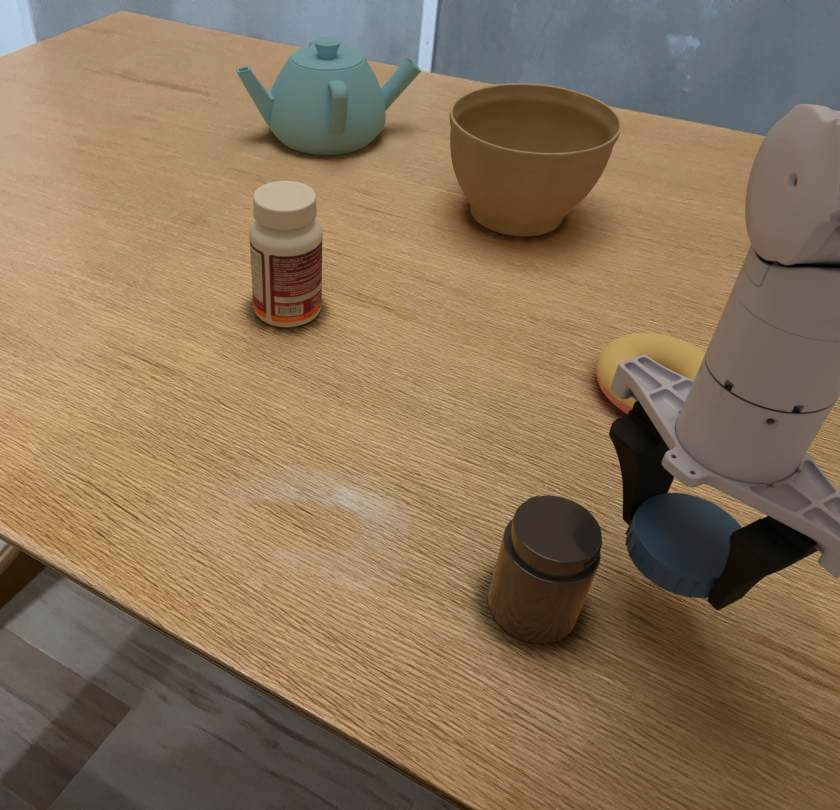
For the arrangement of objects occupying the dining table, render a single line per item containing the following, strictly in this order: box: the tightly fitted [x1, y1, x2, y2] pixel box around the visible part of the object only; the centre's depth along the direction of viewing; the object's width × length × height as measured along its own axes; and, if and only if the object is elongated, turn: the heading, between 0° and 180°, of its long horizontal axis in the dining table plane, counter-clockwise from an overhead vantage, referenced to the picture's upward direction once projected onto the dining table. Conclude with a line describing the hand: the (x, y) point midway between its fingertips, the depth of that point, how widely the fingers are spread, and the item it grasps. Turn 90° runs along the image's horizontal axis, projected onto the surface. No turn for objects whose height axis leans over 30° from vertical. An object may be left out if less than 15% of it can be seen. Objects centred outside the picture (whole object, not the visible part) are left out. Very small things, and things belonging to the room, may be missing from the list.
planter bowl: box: [449, 82, 622, 238], centre depth 83 cm, size 16×16×11 cm
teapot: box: [235, 36, 422, 156], centre depth 98 cm, size 15×17×11 cm
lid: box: [624, 492, 743, 599], centre depth 46 cm, size 6×6×2 cm
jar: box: [487, 494, 603, 645], centre depth 48 cm, size 5×5×8 cm
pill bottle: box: [248, 180, 324, 328], centre depth 70 cm, size 6×6×11 cm
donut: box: [595, 332, 706, 415], centre depth 64 cm, size 10×5×9 cm
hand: (679, 555), depth 47 cm, fingers closed on lid, 6 cm apart
